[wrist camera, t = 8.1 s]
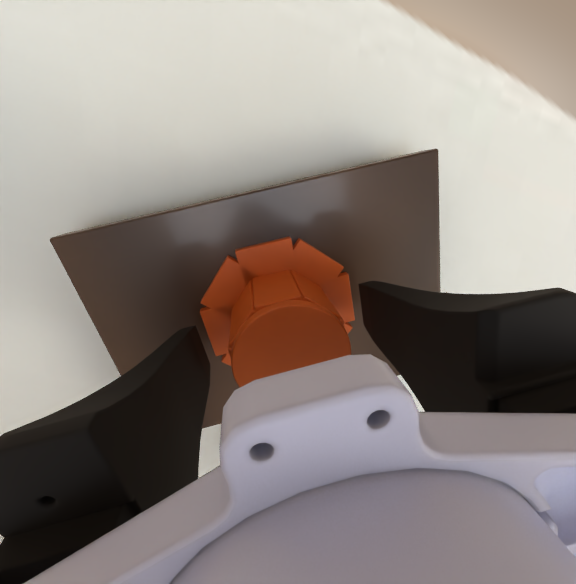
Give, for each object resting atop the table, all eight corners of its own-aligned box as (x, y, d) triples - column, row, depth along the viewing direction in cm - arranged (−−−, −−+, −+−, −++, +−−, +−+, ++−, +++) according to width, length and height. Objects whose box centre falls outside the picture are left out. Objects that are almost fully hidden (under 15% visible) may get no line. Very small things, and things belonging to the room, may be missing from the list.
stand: (166, 407, 18) (154, 441, 16) (80, 228, 14) (47, 238, 11) (417, 341, 19) (442, 364, 16) (408, 152, 15) (439, 148, 12)
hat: (229, 387, 15) (224, 456, 11) (183, 261, 12) (158, 297, 9) (357, 353, 15) (393, 409, 12) (339, 224, 13) (377, 242, 9)
